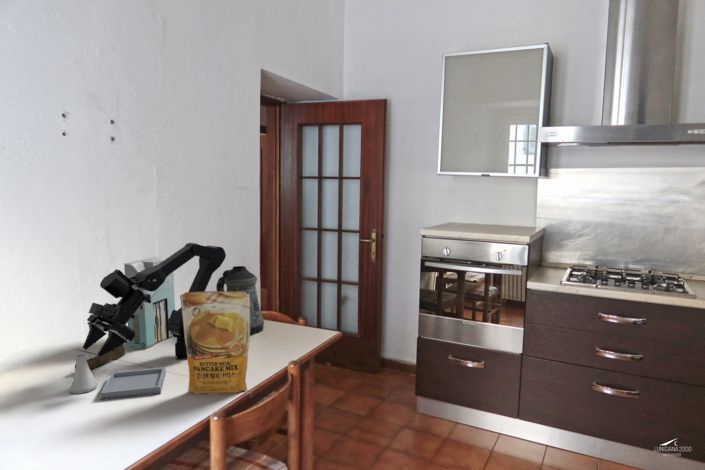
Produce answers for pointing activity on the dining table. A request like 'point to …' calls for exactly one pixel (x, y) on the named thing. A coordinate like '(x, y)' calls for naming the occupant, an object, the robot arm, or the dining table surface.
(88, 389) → the flask
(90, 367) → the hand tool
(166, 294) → the light blue box
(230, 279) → the dark grey coffee pot
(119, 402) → the dining table surface
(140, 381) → the parts tray
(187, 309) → the pancake mix bag
